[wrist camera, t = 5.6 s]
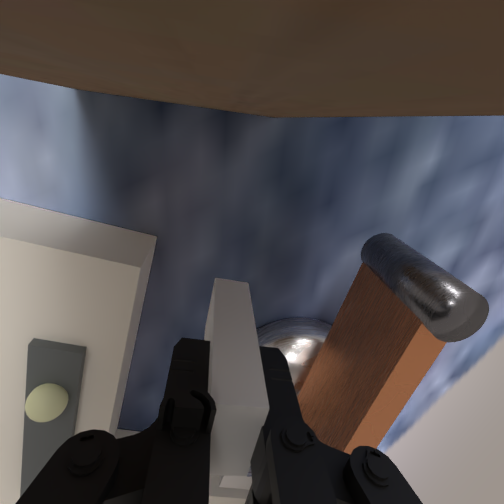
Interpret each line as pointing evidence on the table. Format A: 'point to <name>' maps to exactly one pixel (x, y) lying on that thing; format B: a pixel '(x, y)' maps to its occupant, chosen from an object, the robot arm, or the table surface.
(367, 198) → the table surface
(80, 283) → the stand
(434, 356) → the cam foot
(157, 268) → the table surface
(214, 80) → the wooden block
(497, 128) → the table surface
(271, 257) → the table surface
